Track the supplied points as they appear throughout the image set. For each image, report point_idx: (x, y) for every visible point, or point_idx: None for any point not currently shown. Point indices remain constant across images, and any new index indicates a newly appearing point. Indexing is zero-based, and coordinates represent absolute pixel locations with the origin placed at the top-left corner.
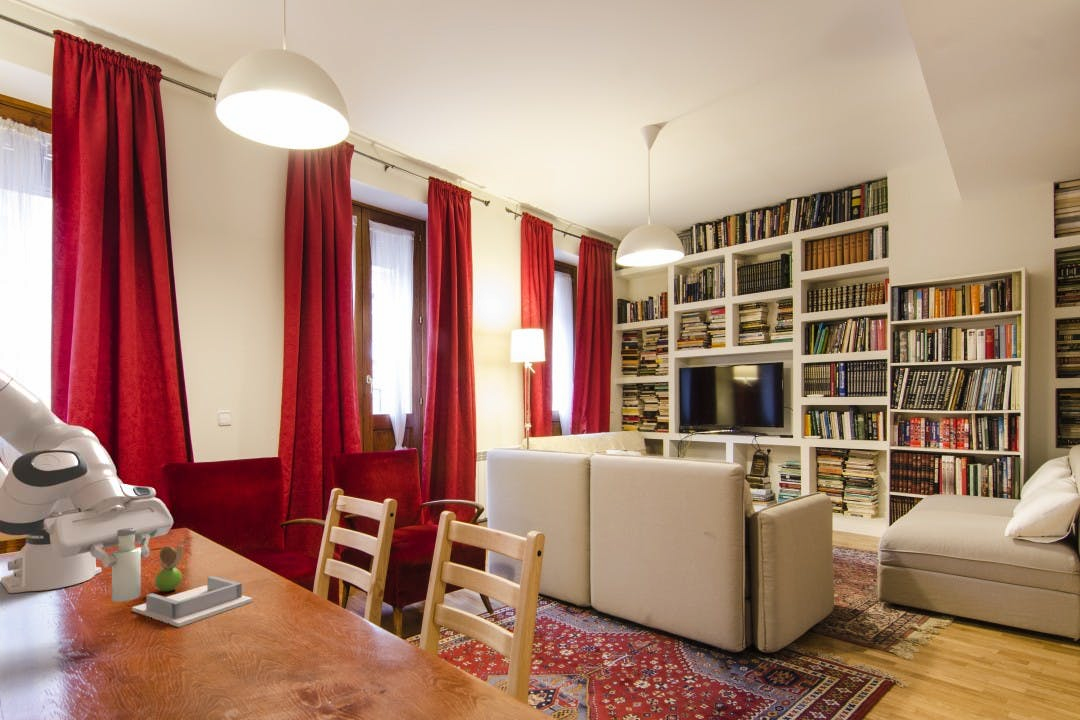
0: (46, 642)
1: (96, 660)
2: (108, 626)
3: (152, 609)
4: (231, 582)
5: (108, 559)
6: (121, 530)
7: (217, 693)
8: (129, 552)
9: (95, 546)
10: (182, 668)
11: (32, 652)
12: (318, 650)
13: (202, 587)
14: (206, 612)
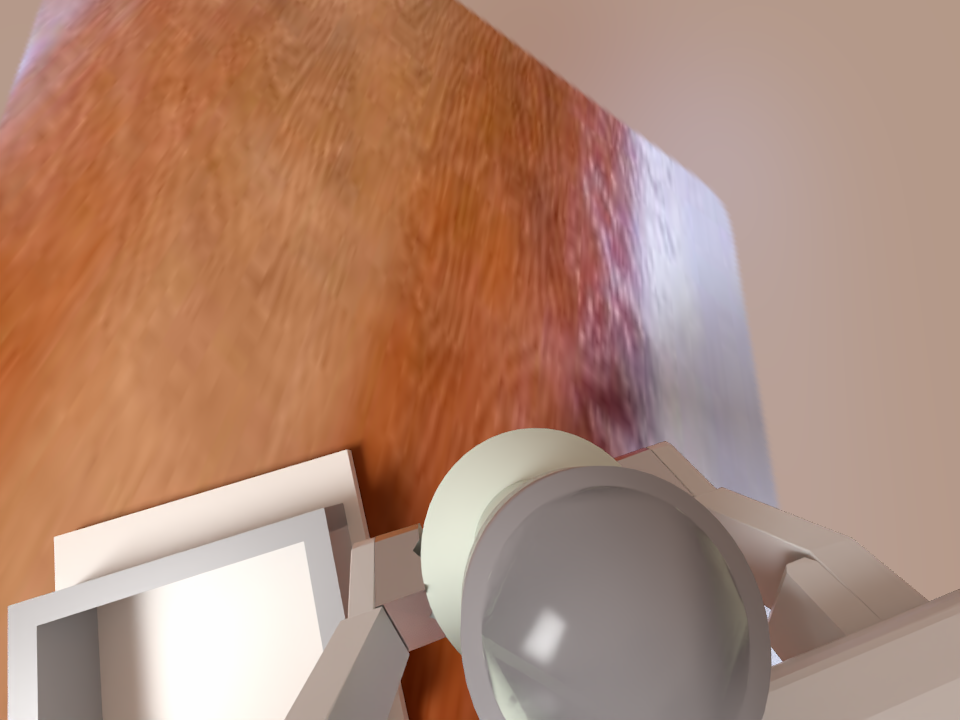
0: None
1: (576, 349)
2: None
3: None
4: (24, 669)
5: (669, 456)
6: (701, 643)
7: (406, 27)
8: (528, 438)
9: (877, 564)
10: (424, 163)
11: None
12: (180, 59)
13: None
14: (243, 492)
